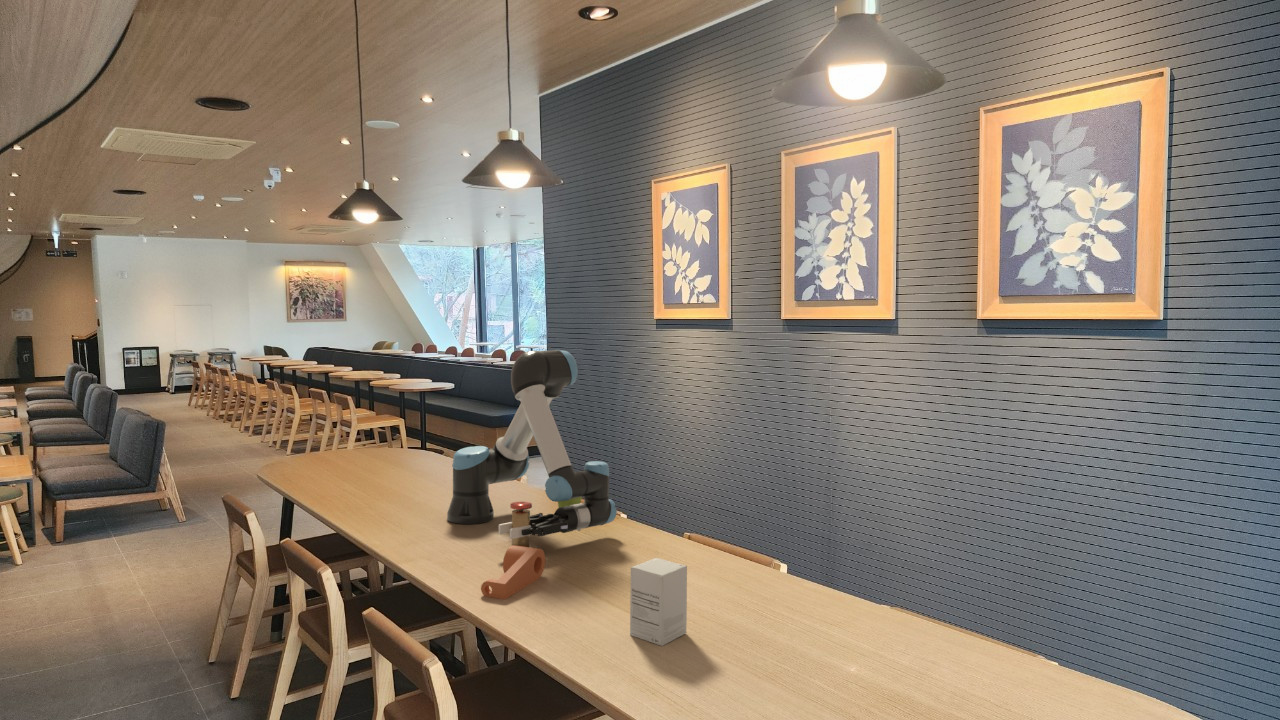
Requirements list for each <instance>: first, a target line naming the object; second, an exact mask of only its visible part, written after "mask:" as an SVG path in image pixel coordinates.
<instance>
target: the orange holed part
mask: <svg viewBox="0 0 1280 720" xmlns="http://www.w3.org/2000/svg"><path fill="white" fill-rule="evenodd" d="M545 566H546V555H545V552H544V550H543V549H542V548H537V547H532V548H529V547H522V546H515V545H512V544H511V545H510V546H509V547H508V548H507V550H506V551H505V554H504V556H503V561H502V569H503V574H502V575H501V577H499V578H498V579H494V578H489V579H487V580H486V581H483V582H482V584H481V585H480V590H481V593H482V595H483V596H484V597H488V598H494V599H500V600H506V599H508V598H509V597H512V596H513V595H515V594H516V593H518V592H520V591H521V590H522V589H525V587H527V586H529V585H530V584H532V583H534V582H535V581H537V580H539V579H540V578H541V577H542V575H543V573H544V570H545V568H546V567H545ZM490 588H491V589H490Z"/></svg>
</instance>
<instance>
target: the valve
mask: <svg viewBox="0 0 1280 720" xmlns="http://www.w3.org/2000/svg"><path fill="white" fill-rule="evenodd" d="M509 506H510V509H513V510H512V511H511V522H512V528H517V527H522V526H527V525H530V516H531V510H530V509H532V508H533V503H532V502H529V501H515V502H511V503H510V505H509ZM530 538H531V535H529V536H524V537H519V538H515V539H511V546H512V545H515V546H522V547H529V548H533V547H532V545H530V543H531V542H530V541H531V540H530Z"/></svg>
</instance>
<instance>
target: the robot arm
mask: <svg viewBox="0 0 1280 720" xmlns="http://www.w3.org/2000/svg"><path fill="white" fill-rule="evenodd" d="M577 366H578V365H577V361H576V358H575V357H574V356H573V355H572V354H571V353H570V352H569V351H567V350H561V349H554V350H528V351H525V352H523V353H522V354H520V355H519V356H518V357H517V358H516V360H515V362H514V363H513V365H512V367H511V372H510V384H511V390H512V392H513V395H514V398H515V399H516V400H517V401H520V404H519V407H518V408H517V410H516V412H515V414H514V416H513V419H512V420H511V421H510V422H511V423H510V424H509V426H508V428H507V430H506V432H505V434H504V436H500V437H499V438H497V440H496V442H495V444H494V445H493V447H492V448H490V449H489V447H487V446H483V445H475V446H467V447H466V446H465V447H463V448H460V449H459V450H457V451H455V452H454V454H453V458H452V459H453V460H452V498H451V501H450V504H449V506H448V510H447V515H446V516H447V518H446V519H447V520H446V521H448V522H450V523H453V524H460V525H474V524H482V523H486V522H490V521H492V520H493V519H494V518H495V517H494V515H495V514H494V513H495V511H494V508H493V504H492V502H491V499H490V495H489V491H490V489H489V488H490V485H492V484H500V483H504V482H505V483H506V482H513V481H515V480H518V479H520V478H522V477H523V476H525V474H526V473H527V472H528V469H529V467H530V462H529V461H530V456H529V450H528V446H529V444H530V442H531V440H532V438H533V439H534V441H535V443H536V447H537V450H539V451H538V452H539V453H540V457H541V460H542V462H543V465H544V467H545V470H546V472H547V475H548V478H547V480H546V482H545V484H544V487H545V490H544V492H545V495H546V497H547V498H548V499H549V500H550V501H552V502H554V503H558V502H559V501H568V500H570V499H574V498H578V497H582V498H583V497H584V499H583V500H584V502H581V503H580V504H574V505H570V506H565V507H560V508H559V507H557V508H556V509H555V511H554V513H548V514H546V515H544V513H542V512H539V513H536V514H532V515H531V514H530V525H527V526H522V527H517V528H512V521H509V522H505V523H500V524H498V535H505V534H509V539H510V540H512V539H515V538H519V537H524V536H529V535H530V536H531V535H532V536H536V535H537V537H543V536H547V535H552V534H556V533H562V534H565V533H570V532H573V531H577V532H579V531H581V530H582V529H583V530H584V529H587V528H592V527H598V526H604V525H607V524H610V523H612V522H613V521H614V520H615V519H616V517H617V512H618V511H617V510H618V509H617V508H616V503H615V502H614V501H613V500H612V499H611V498H609V494H610V493H609V491H610V490H609V489H610V466H609V464H608V463H607V462H604V461H600V460H599V461H598V460H597V461H596V460H594V461H593V460H592V461H587V462H586V463H585V464H584V469H583V470H581V471H575V469H574V467H573V465H572V462H571V460H570V457H569V456H568V453H567V450H566V448H565V444H564V442H563V440H562V437H561V434H560V432H559V428H558V426H557V424H556V422H555V418H554V415H553V414H552V410H551V408H550V404H551V403H552V401H553V400H554V399H557V398H558V397H560V396H561V394H562V392H563V390H564V388H565V387H569V386H572V385H574V383H576V381H577V378H578V373H579V370H578V369H579V368H578V367H577Z"/></svg>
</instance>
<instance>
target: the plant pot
mask: <svg viewBox="0 0 1280 720" xmlns="http://www.w3.org/2000/svg"><path fill="white" fill-rule="evenodd" d="M582 499H583V497H578V498H574V499H570V500H568V501H559V502H557V505H558V507H557V508H560V507H565V506H570V505H574V504H580V503H582Z"/></svg>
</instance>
